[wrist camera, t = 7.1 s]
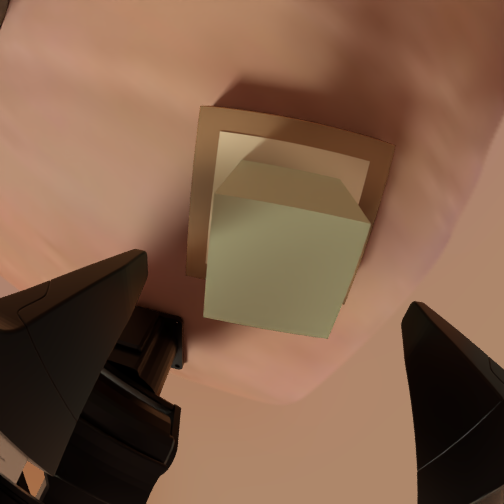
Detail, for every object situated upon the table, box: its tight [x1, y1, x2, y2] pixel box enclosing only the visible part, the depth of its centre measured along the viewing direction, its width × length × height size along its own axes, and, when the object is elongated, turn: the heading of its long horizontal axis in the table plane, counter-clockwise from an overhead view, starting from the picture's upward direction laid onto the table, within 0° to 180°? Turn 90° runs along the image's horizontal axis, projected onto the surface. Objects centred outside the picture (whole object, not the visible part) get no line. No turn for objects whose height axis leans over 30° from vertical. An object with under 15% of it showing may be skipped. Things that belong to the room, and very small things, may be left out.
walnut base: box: [186, 106, 395, 305], centre depth 16 cm, size 10×10×3 cm
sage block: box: [203, 160, 371, 339], centre depth 13 cm, size 5×5×6 cm
